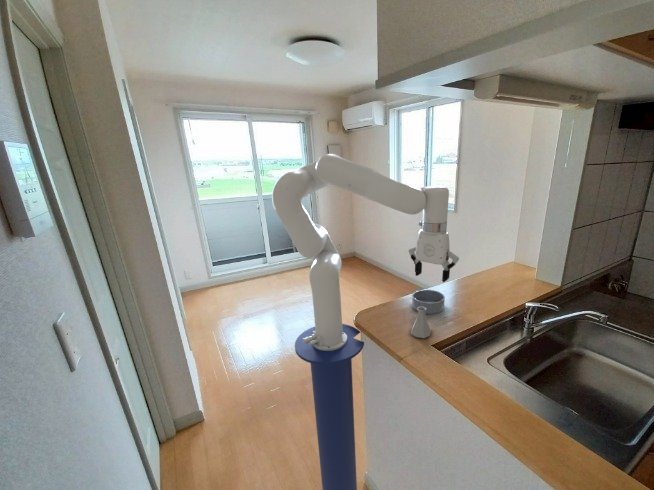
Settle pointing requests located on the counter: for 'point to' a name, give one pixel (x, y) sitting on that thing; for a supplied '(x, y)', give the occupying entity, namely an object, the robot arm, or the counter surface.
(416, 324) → the flask
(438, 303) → the bowl
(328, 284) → the robot arm
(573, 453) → the counter surface
